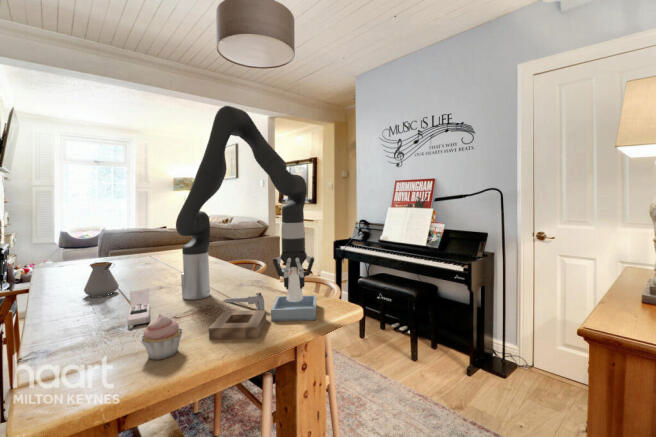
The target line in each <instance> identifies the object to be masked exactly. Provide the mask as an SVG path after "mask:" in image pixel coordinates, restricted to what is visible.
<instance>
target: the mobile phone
mask: <svg viewBox="0 0 656 437" xmlns="http://www.w3.org/2000/svg"><path fill="white" fill-rule="evenodd" d="M129 297H130V301H129V303H130V307H129V310H128V315H127V326H128V328H129V329H130V330H132V329H133V328H134V326H136V325H141V324H147V323H149V322H150V320H151V319H150V318H151V307H150V289H149V288H144V289H143V288H142V289H137V290H130V292H129Z"/></svg>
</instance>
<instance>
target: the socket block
mask: <svg viewBox="0 0 656 437" xmlns="http://www.w3.org/2000/svg"><path fill="white" fill-rule="evenodd" d="M266 322H267V310H266V309H264V310H257V309H256V310H255V309H254V310H224V311H223V312H222V313H221V314H220V315H219V316H218V317H217V318H216V319H215V321H214V322H213V323H212V324H211V325H210V326H208V339H209V340H226V339H227V340H230V339H231V340H233V339H236V340H237V339H258V338H259V336H260V334H261V332H262V330H263V327H264V325H265V323H266Z"/></svg>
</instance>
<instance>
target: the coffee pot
mask: <svg viewBox="0 0 656 437" xmlns="http://www.w3.org/2000/svg"><path fill="white" fill-rule="evenodd" d="M112 264H113V265H114V262H110V261H100V262H99V261H98V262H93V263H90V264H89V267H90V268H91V269H92V270H91V272H90V275H89V277H88V279H87V282H86V283H85V286H84V289H83V292H84V293H85V294H86V295H87V296H93V297H92V298H99V297H98V296H104V297H106V296H105V295H108V294H111V293H113V292H114V293H115V292H116V291H117V290H118V289H119V287H120V286H119V283H118V282H117V280H116V279H115V277H114V275H113V273H112V272H111V270H110V269H112V268H114V266H112ZM111 266H112V267H111ZM114 293H113V294H114ZM111 295H112V294H111ZM108 296H109V295H108Z"/></svg>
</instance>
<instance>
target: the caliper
mask: <svg viewBox="0 0 656 437" xmlns="http://www.w3.org/2000/svg"><path fill="white" fill-rule="evenodd" d="M223 302H225V303H231V304H232V303H248V305H253V304H255V307H256V310H265V298H264V295H262V292H256V294H255V295H250V296H249V295H248V296H247V297H227V298H225V299H224V300H223Z"/></svg>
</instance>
